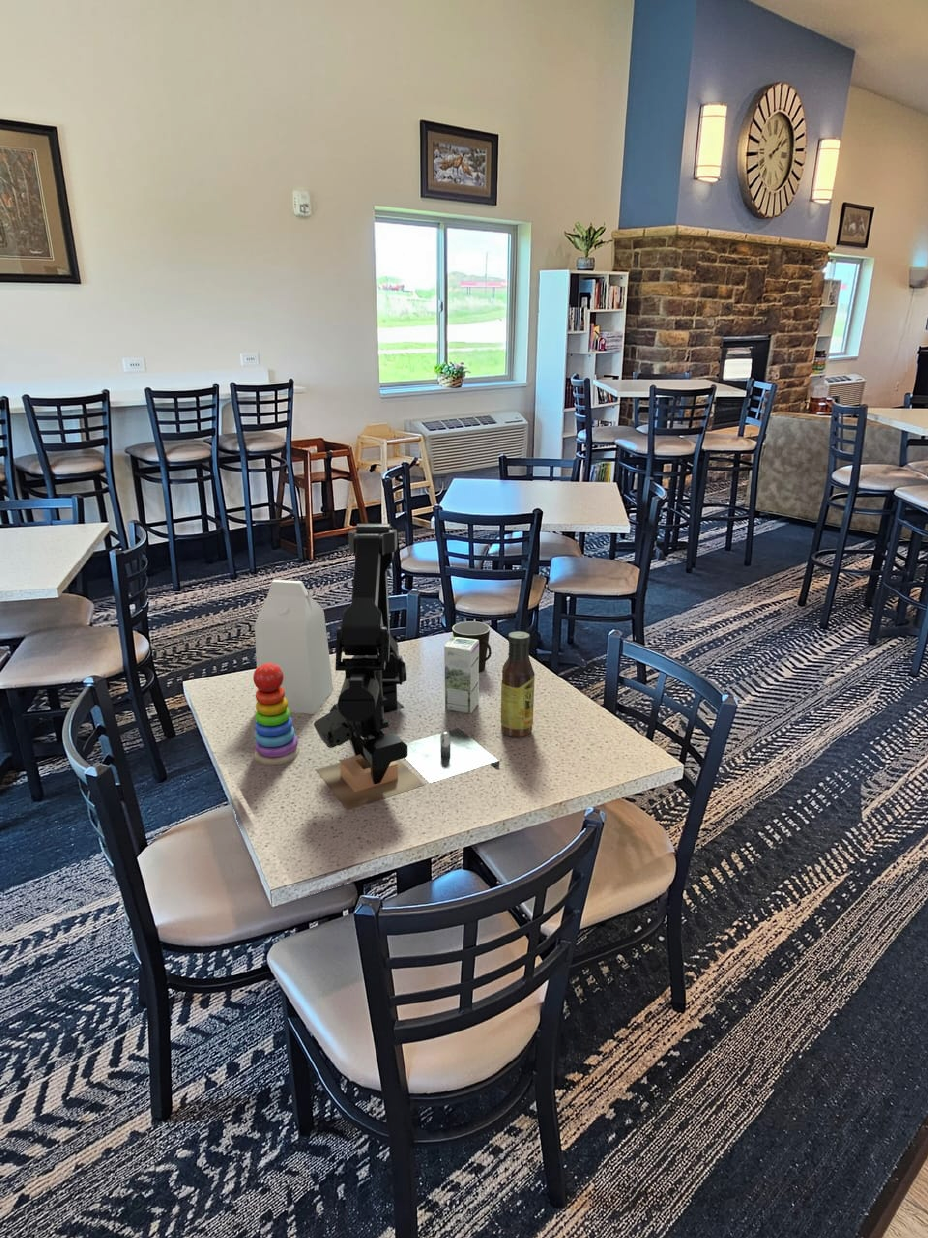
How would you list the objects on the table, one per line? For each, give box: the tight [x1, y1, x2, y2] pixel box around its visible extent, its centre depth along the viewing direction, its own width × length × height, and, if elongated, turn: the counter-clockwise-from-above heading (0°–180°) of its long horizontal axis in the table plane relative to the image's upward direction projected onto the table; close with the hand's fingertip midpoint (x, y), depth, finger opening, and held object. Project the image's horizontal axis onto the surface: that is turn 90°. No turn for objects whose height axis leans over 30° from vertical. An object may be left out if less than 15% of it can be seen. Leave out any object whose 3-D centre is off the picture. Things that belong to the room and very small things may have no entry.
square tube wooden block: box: [339, 755, 398, 792], centre depth 129 cm, size 6×8×3 cm
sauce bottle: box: [500, 631, 535, 738], centre depth 143 cm, size 7×6×20 cm
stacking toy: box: [252, 663, 301, 766], centre depth 134 cm, size 8×8×19 cm
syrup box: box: [443, 636, 480, 715], centre depth 153 cm, size 6×6×14 cm
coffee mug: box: [451, 620, 493, 674], centre depth 171 cm, size 12×9×10 cm
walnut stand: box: [315, 759, 425, 811], centre depth 129 cm, size 14×14×4 cm
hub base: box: [404, 727, 500, 784], centre depth 136 cm, size 14×14×5 cm
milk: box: [254, 579, 334, 715], centre depth 155 cm, size 12×12×26 cm
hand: (369, 774), depth 129 cm, fingers closed on square tube wooden block, 6 cm apart
